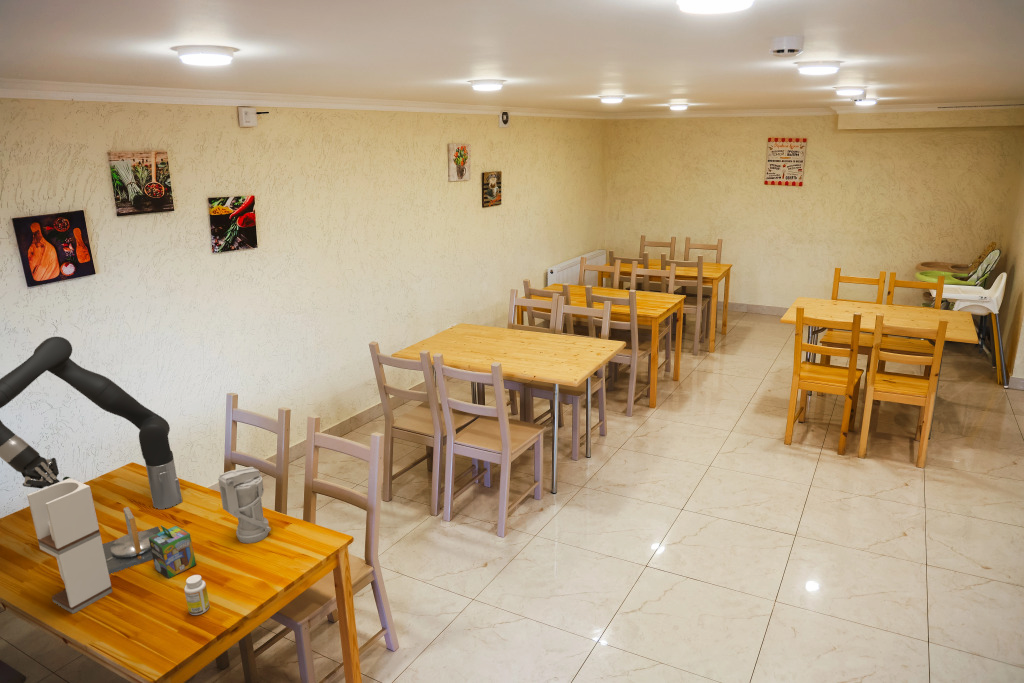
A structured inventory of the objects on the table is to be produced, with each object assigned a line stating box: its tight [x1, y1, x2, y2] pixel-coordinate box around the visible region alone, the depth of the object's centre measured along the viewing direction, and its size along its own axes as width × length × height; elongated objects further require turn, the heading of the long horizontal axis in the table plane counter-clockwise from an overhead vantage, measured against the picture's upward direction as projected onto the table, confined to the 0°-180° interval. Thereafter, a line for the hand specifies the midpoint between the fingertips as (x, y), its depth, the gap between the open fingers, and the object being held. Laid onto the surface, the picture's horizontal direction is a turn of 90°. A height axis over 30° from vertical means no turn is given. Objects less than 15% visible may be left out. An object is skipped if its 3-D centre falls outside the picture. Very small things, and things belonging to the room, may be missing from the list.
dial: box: [111, 506, 155, 557], centre depth 222 cm, size 15×13×14 cm
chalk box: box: [149, 524, 197, 580], centre depth 214 cm, size 9×9×15 cm
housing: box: [102, 526, 162, 575], centre depth 225 cm, size 18×18×2 cm
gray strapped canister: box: [218, 466, 272, 544], centre depth 228 cm, size 13×10×25 cm
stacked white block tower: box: [26, 477, 113, 614], centre depth 198 cm, size 11×11×35 cm
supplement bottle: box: [183, 574, 210, 616], centre depth 194 cm, size 6×6×10 cm
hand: (61, 490), depth 218 cm, fingers closed
